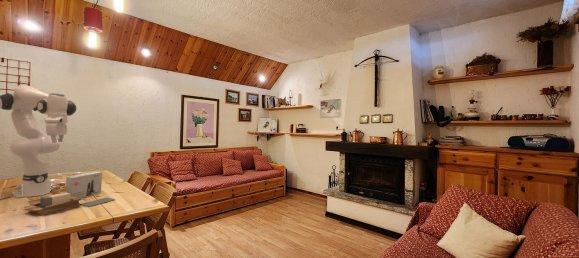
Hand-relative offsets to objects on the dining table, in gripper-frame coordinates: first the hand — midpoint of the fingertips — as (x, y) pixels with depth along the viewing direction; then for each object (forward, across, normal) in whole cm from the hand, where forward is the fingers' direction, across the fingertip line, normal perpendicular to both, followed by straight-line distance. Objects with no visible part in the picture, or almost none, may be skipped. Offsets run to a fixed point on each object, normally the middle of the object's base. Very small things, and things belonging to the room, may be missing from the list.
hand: (57, 142), depth 152 cm
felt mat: (+40, +1, +21) cm, 45 cm away
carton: (+39, +6, +1) cm, 40 cm away
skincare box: (+39, -16, +10) cm, 43 cm away
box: (+39, +6, +1) cm, 40 cm away
